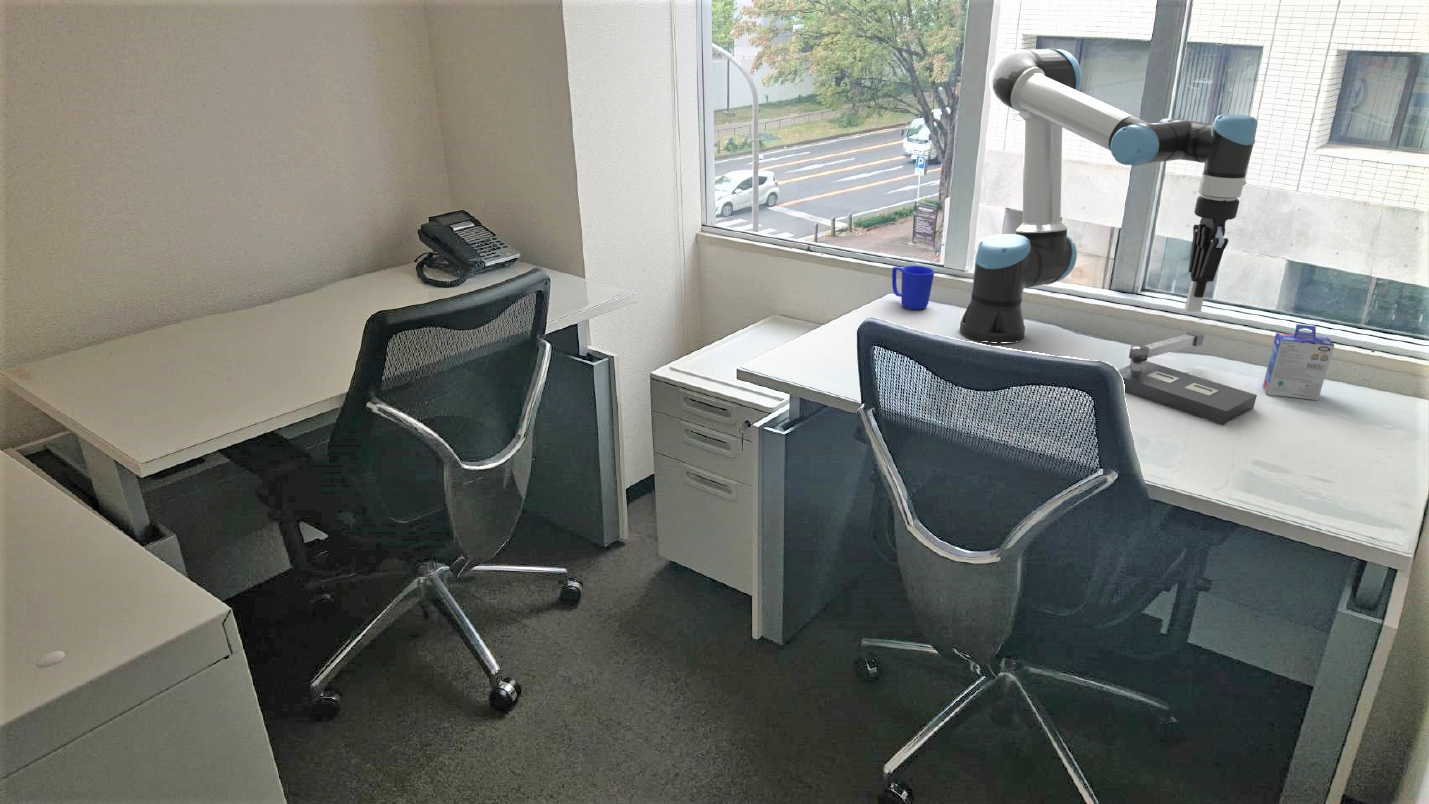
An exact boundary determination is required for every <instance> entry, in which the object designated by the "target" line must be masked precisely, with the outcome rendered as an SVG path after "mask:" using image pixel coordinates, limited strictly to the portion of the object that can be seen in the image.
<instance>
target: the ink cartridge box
mask: <svg viewBox="0 0 1429 804" xmlns="http://www.w3.org/2000/svg"><path fill="white" fill-rule="evenodd" d="M1304 329H1307V330H1310V331H1311V332H1304V331H1303V332H1302V331H1299V330H1304ZM1316 332H1317V326H1314V325H1307V324H1306V325H1305V324H1298V323H1296V325H1295V330H1294V333H1293V334H1292V333H1291V334H1289V333H1281V332H1276V333H1275V336H1274V341H1273V344H1272V348H1271V353H1270V356H1269V360H1268V364H1267V368H1266V371H1265V375H1264V379H1263V383H1262V389H1263V392H1264V393H1265V394H1266V395H1271V396H1280V397H1286V398H1287V397H1290V398H1297V399H1303V400H1304V399H1305V400H1313V401H1319V399H1320V395H1321V391H1322V387H1323V384H1324V382H1325V378H1326V374H1327V371H1328V368H1329V364H1330V361H1331V357H1332V354H1333V351H1334V348H1335V344H1334V342H1332V340H1331V339H1330V338H1329V337H1325V336H1317V335H1316V334H1317V333H1316Z"/></svg>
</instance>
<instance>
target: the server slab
mask: <svg viewBox="0 0 1429 804" xmlns="http://www.w3.org/2000/svg"><path fill="white" fill-rule="evenodd" d="M1118 370H1119V372H1120V374H1121V376H1122V377H1123V380H1124V384H1125V392H1124V393H1126V394H1130V395H1133V396H1135V397H1137V398H1141V399H1144V400H1147V401H1151V402H1152V403H1156V404H1159V405H1161V406H1165V407H1167V408H1170V409H1173V410H1176V411H1179V412H1182V413H1186V414H1188V415H1190V416H1194V417H1198V418H1200V419H1203V420H1206V421H1209V422H1211V423H1214V424H1218V425H1221V426H1225V425H1226V424H1228V423H1230V422H1231V421H1232V422H1233V421H1234V420H1235V419H1238V418H1239V417H1240V416H1243V415H1244V414H1246V413H1248V412H1250V411H1252V410H1254V408H1255V405H1256V400H1257V396H1258V395H1257V394H1255V393H1252V392H1248V391H1245V390H1241V389H1239V388H1235V387H1231V386H1230V385H1226V384H1223V383H1219V382H1216V381H1213V380H1209V379H1206V378H1203V377H1200V376H1197V375H1194V374H1190V373H1187V372H1183V371H1181V370H1177V369H1174V368H1172V367H1171V368H1170V367H1167V366H1164V365H1161V364H1158V363H1154V362H1151V361H1148V360H1146V361H1135V360H1132V359H1130V364H1128V365H1126V366H1124V367H1121V368H1120V369H1118Z"/></svg>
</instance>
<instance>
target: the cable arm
mask: <svg viewBox="0 0 1429 804" xmlns="http://www.w3.org/2000/svg"><path fill="white" fill-rule="evenodd" d="M1204 338H1205V334H1204V333H1201V332H1198V331H1194V330H1191V331H1187V332H1185V334H1183V335H1178V336H1176V337H1171V338H1167V339H1163V340H1159V341H1156V342H1152V343H1148V344H1146V345H1144V344H1132V345H1131V346H1130V349H1129V353H1128V354H1129V355H1128V358H1129V359H1130V360H1131V359H1132V360H1135V361H1148V359H1149V358H1150V359H1151V358H1152V357H1157V356H1159V355H1164V354H1167V353H1170V352H1174V351H1179V350H1182V349H1184V348H1185V349H1186V348H1189V347H1199V346H1202V345H1203V343H1204Z"/></svg>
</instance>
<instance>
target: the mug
mask: <svg viewBox="0 0 1429 804" xmlns="http://www.w3.org/2000/svg"><path fill="white" fill-rule="evenodd" d="M897 271H900V272H901V293H900V292H899V291H898V286H897ZM891 272H892V274H891V281H892V282H891V283H892V284H891V285H892V292H893V293H894V295H895V296H896V297H900V301H901V304H902V306H903V307H904V308H906V309H908V310H915V311H917V310H924V309H927V307H928V305H929V301H930V296H931V291H932V287H933V286H932V285H933V281H934V275H935V270H934V269H933V268H930V267H928V266H923V265H922V266H921V265H909V266H904V267H901V266H894V267H892V271H891Z"/></svg>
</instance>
